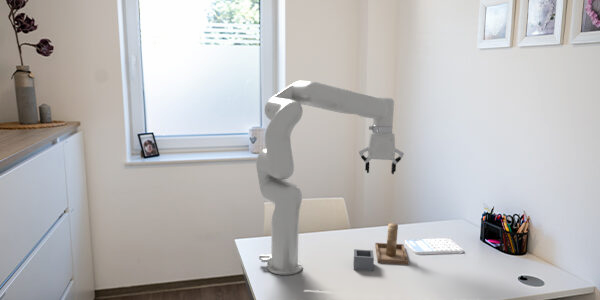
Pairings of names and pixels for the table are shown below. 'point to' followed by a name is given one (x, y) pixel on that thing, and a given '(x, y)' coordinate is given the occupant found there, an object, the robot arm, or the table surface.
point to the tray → (383, 258)
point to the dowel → (391, 239)
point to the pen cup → (363, 260)
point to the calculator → (433, 246)
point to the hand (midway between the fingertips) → (380, 172)
